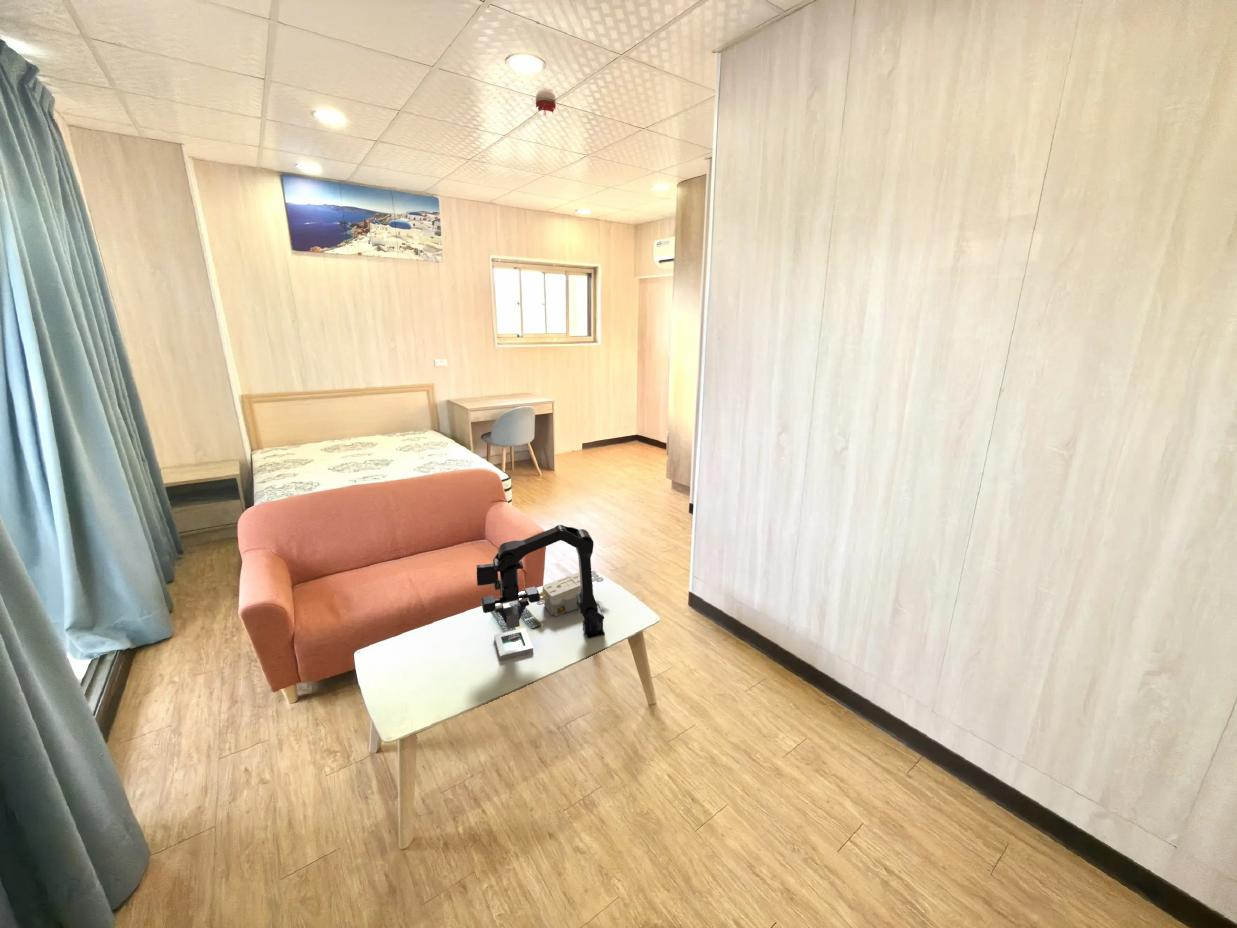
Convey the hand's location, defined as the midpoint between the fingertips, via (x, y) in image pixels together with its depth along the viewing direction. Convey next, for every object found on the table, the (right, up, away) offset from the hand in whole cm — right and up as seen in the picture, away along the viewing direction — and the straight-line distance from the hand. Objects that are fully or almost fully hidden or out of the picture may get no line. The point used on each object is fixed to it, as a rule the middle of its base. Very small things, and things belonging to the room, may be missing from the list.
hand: (512, 620), depth 164 cm
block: (0, -1, 0) cm, 1 cm away
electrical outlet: (+16, -3, +28) cm, 32 cm away
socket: (0, -10, +3) cm, 10 cm away
